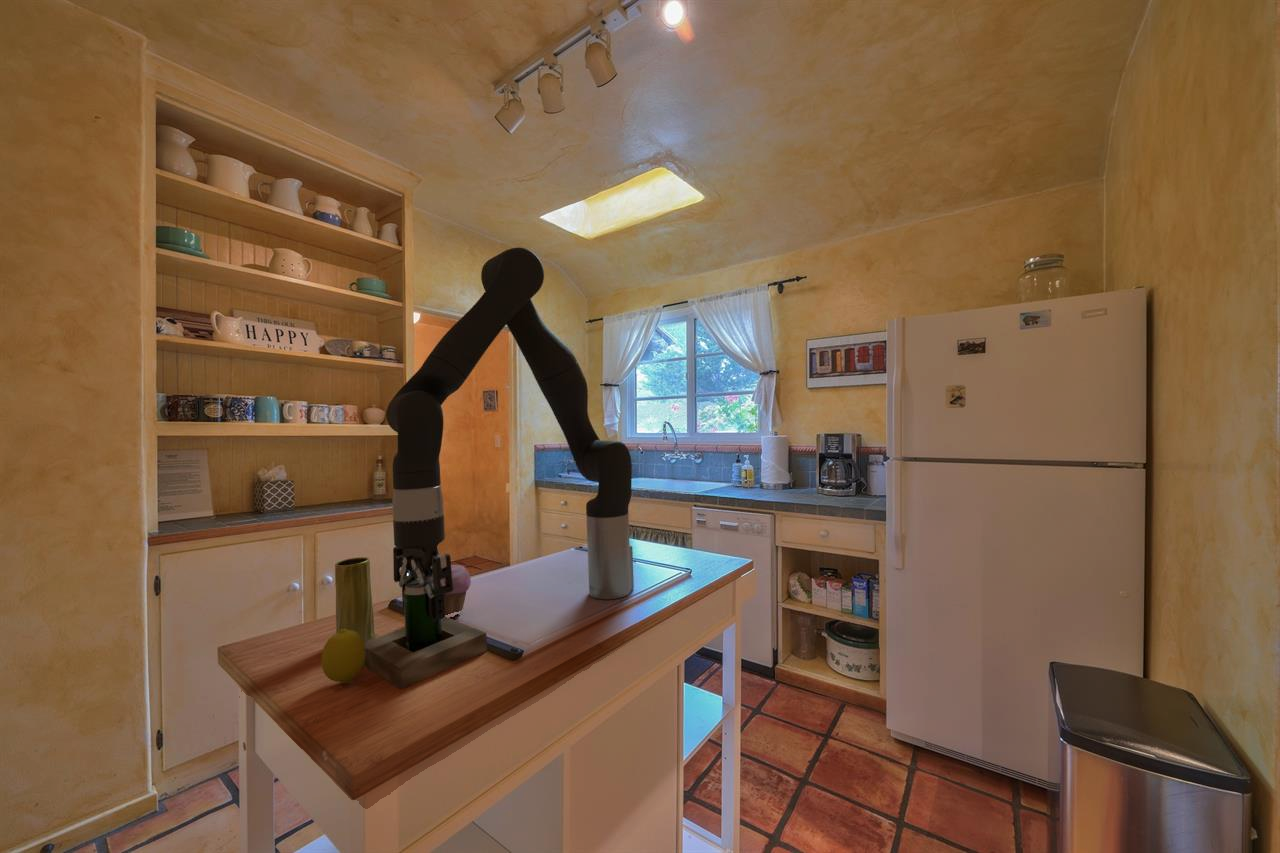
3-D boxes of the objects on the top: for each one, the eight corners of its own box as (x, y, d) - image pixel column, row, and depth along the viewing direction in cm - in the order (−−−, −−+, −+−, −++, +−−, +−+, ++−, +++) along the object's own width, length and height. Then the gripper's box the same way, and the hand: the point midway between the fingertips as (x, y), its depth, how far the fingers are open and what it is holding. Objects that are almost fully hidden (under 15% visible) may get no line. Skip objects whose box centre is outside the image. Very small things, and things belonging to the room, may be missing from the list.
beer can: (413, 668, 75) (410, 591, 75) (401, 657, 79) (398, 583, 79) (447, 656, 78) (445, 582, 78) (435, 645, 82) (432, 575, 82)
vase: (337, 653, 81) (334, 568, 81) (332, 641, 86) (329, 561, 85) (378, 642, 85) (375, 560, 85) (371, 631, 89) (368, 554, 89)
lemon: (349, 671, 75) (347, 619, 75) (375, 676, 73) (373, 623, 72) (313, 690, 69) (311, 634, 69) (340, 696, 67) (338, 639, 67)
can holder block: (441, 631, 88) (440, 614, 88) (486, 651, 80) (486, 632, 80) (359, 662, 77) (358, 644, 77) (401, 689, 69) (401, 668, 69)
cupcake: (420, 614, 97) (418, 564, 97) (464, 603, 102) (462, 556, 102) (431, 628, 90) (429, 574, 90) (477, 616, 95) (476, 565, 95)
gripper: (464, 514, 77) (468, 615, 77) (419, 507, 86) (423, 598, 86) (418, 523, 71) (423, 632, 71) (374, 515, 80) (379, 612, 80)
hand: (423, 613), depth 79 cm, fingers open, 8 cm apart
